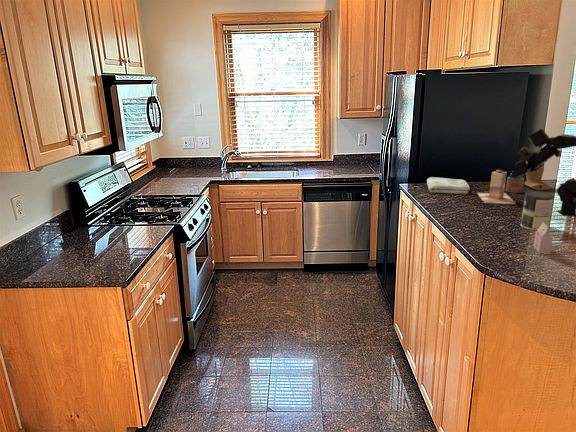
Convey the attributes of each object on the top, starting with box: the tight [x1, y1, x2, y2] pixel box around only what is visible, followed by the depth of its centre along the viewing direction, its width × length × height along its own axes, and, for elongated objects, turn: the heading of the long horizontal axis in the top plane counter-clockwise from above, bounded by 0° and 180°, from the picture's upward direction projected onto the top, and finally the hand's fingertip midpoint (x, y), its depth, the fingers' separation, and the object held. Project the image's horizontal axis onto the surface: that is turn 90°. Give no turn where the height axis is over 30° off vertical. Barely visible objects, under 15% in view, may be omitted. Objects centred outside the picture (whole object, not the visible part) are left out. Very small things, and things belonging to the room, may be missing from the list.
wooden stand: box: [523, 161, 552, 191], centre depth 238 cm, size 15×12×15 cm
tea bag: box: [532, 222, 554, 255], centre depth 155 cm, size 4×7×10 cm, turn 167°
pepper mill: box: [488, 169, 508, 199], centre depth 218 cm, size 5×5×14 cm
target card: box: [476, 192, 517, 205], centre depth 220 cm, size 18×14×1 cm
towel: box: [426, 176, 471, 195], centre depth 240 cm, size 18×21×5 cm
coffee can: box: [520, 190, 555, 231], centre depth 178 cm, size 10×10×14 cm
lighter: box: [505, 172, 525, 194], centre depth 231 cm, size 8×3×10 cm, turn 62°
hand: (515, 175), depth 210 cm, fingers open, 9 cm apart
